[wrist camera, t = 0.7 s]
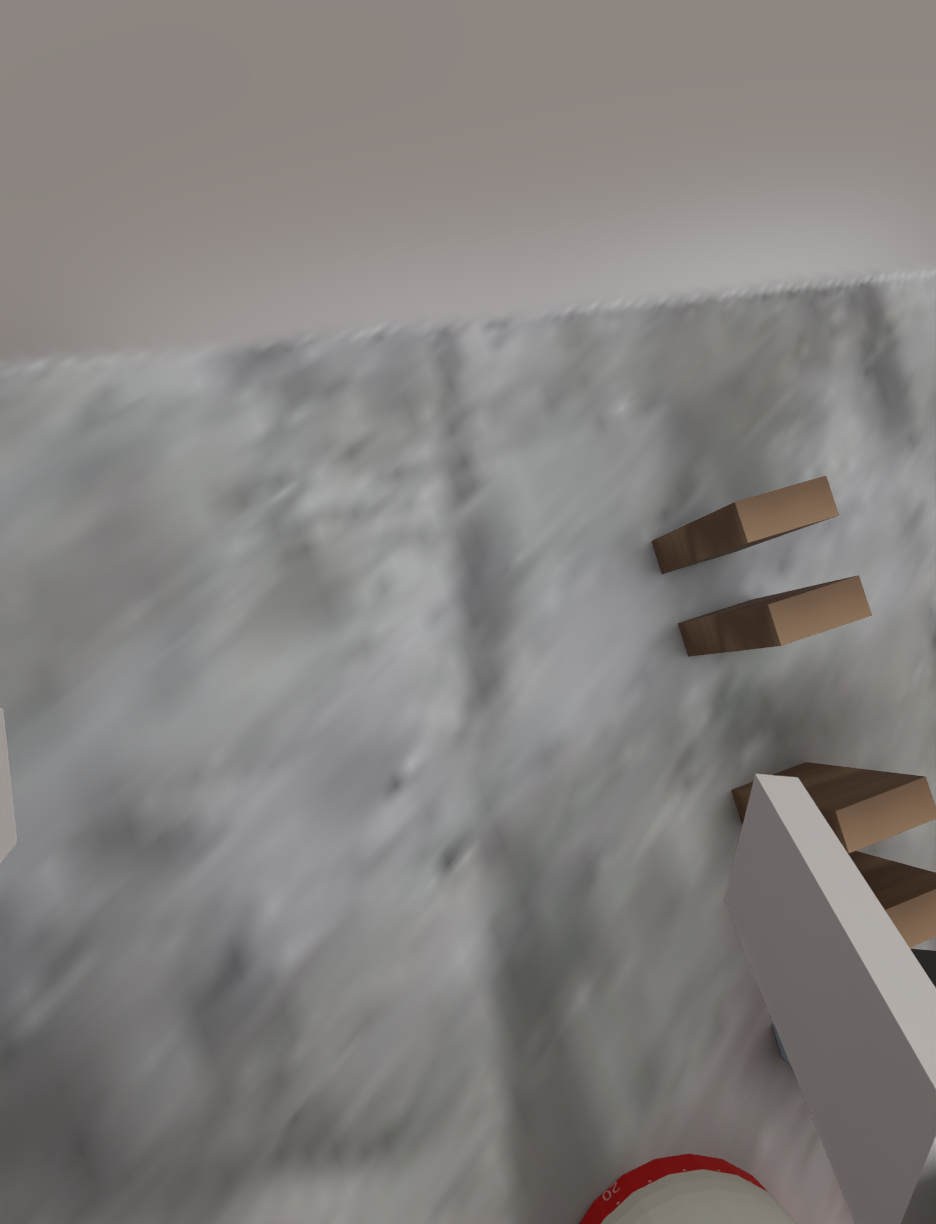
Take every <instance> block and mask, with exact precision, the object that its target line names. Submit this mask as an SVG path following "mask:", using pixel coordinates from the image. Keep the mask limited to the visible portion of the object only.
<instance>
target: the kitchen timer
mask: <svg viewBox="0 0 936 1224" xmlns="http://www.w3.org/2000/svg"><path fill="white" fill-rule="evenodd" d="M580 1224H796V1222H795V1221H794V1220H793V1218H792V1217H791V1216H790V1215H789V1214H788V1213H787V1212H786V1211H785V1210H784V1209H783V1208H782V1206H781V1205H780V1204H779V1203H778V1202H777V1201H776V1200H775V1199H774V1198H773V1197H772V1196H771V1195H770V1194H769V1193H768V1192H767V1191H766V1190H765V1188H764V1187H763V1186H762V1185H761V1184H760V1183H759V1182H758V1181H757V1180H756V1179H755V1178H754V1177H753V1176H752V1175H750V1174H748V1173H747V1172H745V1171H743V1170H741V1169H739V1168H737V1167H736V1166H734V1165H732V1164H730V1163H728V1162H726V1161H725V1160H723V1159H717V1158H711V1157H705V1156H699V1155H694V1154H685V1155H679V1156H672V1157H666V1158H659V1159H655V1160H653V1161H650V1162H648V1163H646V1164H644V1165H642V1166H640V1167H638V1168H636V1169H634V1170H632V1171H630V1172H628V1173H626V1174H624V1175H622V1176H621V1177H620V1178H619V1179H618V1180H617V1181H616V1182H615V1183H614V1184H612V1185H611V1186H610V1187H609V1188H608V1189H607V1190H606V1191H605V1192H604V1193H603V1194H601V1195H600V1196H599V1197H598V1198H597V1199H596V1200H595V1201H594V1202H593V1204H592V1205H591V1207H590V1208H589V1210H588V1211H587V1213H586V1215H585V1216H584V1218H583V1219H582V1221H581V1222H580Z"/></svg>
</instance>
